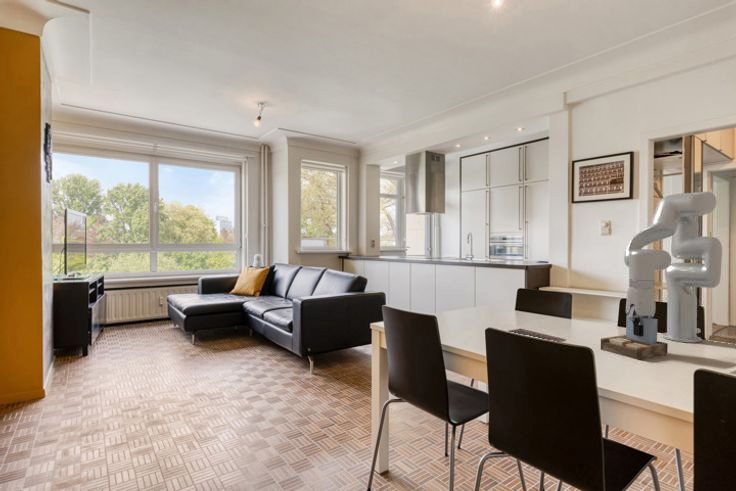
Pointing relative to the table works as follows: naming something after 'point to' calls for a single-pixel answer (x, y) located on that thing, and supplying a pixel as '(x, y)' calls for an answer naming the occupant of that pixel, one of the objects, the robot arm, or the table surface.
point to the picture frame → (536, 334)
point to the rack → (638, 354)
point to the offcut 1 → (620, 341)
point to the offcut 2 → (634, 345)
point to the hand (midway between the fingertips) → (641, 334)
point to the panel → (648, 330)
